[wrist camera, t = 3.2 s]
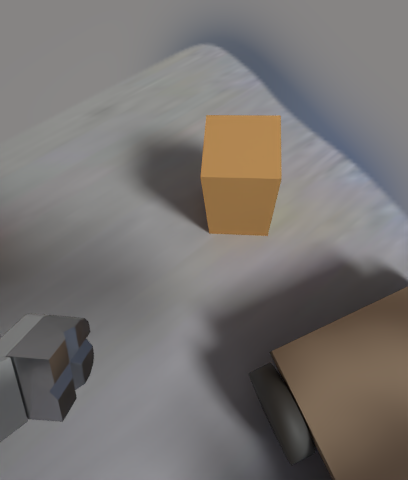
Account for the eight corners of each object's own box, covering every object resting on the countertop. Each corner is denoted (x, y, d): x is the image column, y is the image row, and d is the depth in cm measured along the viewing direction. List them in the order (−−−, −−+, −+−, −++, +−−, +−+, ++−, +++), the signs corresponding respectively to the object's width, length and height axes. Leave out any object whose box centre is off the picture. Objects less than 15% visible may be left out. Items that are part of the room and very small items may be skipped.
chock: (267, 235, 26) (281, 178, 19) (209, 233, 27) (200, 177, 19) (267, 185, 28) (280, 115, 20) (213, 184, 28) (206, 115, 21)
